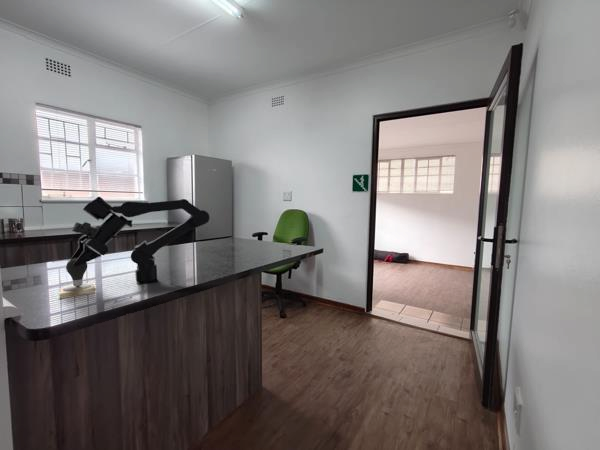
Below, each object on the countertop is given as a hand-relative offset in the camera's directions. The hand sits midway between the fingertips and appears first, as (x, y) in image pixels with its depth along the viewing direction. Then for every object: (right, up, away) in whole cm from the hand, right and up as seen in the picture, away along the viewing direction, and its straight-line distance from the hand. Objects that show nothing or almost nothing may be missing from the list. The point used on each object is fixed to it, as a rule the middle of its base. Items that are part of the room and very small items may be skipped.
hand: (72, 263), depth 93 cm
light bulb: (+1, -8, +1) cm, 8 cm away
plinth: (+1, -10, +1) cm, 10 cm away
